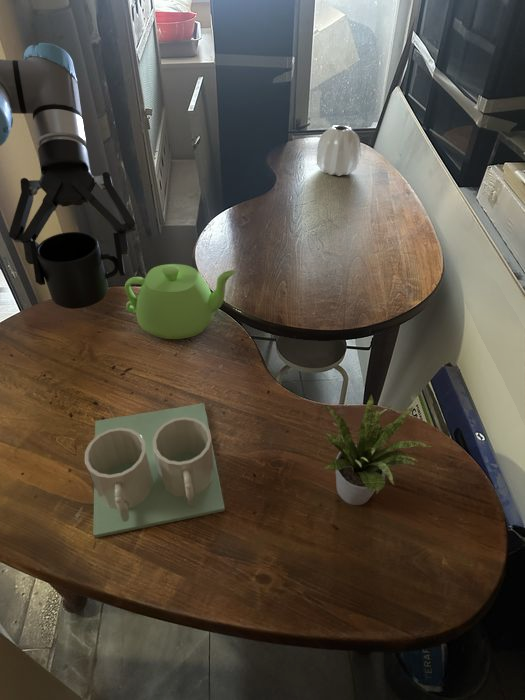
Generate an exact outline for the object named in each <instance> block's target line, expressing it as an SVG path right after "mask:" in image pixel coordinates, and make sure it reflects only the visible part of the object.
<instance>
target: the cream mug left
mask: <svg viewBox="0 0 525 700" xmlns="http://www.w3.org/2000/svg"><path fill="white" fill-rule="evenodd" d="M129 463H131V464H134V465H133V466H132V467H131V468H129V469H128V470H126V471H124V472H122V473H118V474H112V475H108V473H109V472H110V471H111V470H112V469H114V468H116V467H117V466H119V465H123V464H129ZM84 464H85V467H86V469H87V472H88V474H89V477H90V479H91V482H92V484H93V488H94V487H95V489H96V492H97V494H98V496H99V498H100V500H101V502H102V503H103V504H105V505H106V506H108V507H109V508H113V509H118V511H119V513H120V516H121V519H122V521H123V522H127V521H128V520H129V508H132V507H134V506H136V505H138V504H139V503H141V502H143V501H144V500H145V498H146V497H147V496H148V495H149V494H150V492H151V490H152V487H153V484H154V481H153V473H152V469H151V464H150V460H149V456H148V452H147V448H146V444H145V441H144V439H143V438H142V436H141V435H140V434H139V433H137V432H135V431H134V430H132V429H127V428H115V429H109V430H107V431H105V432H103V433H101V434H99V435H98V436H96V437H95V436H94V438H93V439H92V440H91V441H90V442H89V443H88V445H87V447H86V449H85V451H84Z"/></svg>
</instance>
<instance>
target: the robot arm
mask: <svg viewBox="0 0 525 700" xmlns="http://www.w3.org/2000/svg"><path fill="white" fill-rule="evenodd" d="M13 114H16V115H17V114H19V115H20V114H22V115H27V114H31V115H32V120H33V129H34V134H35V135H34V136H35V141H36V145H37V154H38V161H39V168H40V178H39V179H38V180H34V179H33V180H29V179H28V178H26V177H23V178H21V179H20V194H19V195H20V196H19V199H18V202H17V205H16V208H15V212H14V215H13V218H12V222H11V224H10V229H9V232H8V237H9V238H11V239H12V241H14V242H15V243H20V244H21V243H22V244H23V252H24V258H25V261H26V262H27V264H29V265H32V266H33V272H34V278H35V283H36V284H38V285H39V286H44V285H45V286H46V280H45V277H44V274H43V272H42V269H41V266H40V263H39V260H38V257H37V254H36V250H37V247H38V245H39V244H40V243H38V242H37V239H38V237H39V236H40V234H41V232H42V231H43V229H44V227H45V225H46V224H47V222H48V221H49V219H50V218H51V216H52V214H53V213H54V212H55V211H56V210H57V208H58V206H61V207H62V208H63V207H69V206H83V204H84V203H86V204H87V205H88V206H89V207H90V208H91V209H93V210H94V211H95V212H96V213H97V214H98V215H99V216H100V217H101V218H102V219H103V220H104V221H105V223H107V224H108V225H109V226H110V227H111V228H112V229H113V230H114V231H115V232H113V233H112V235H113V241H114V242H113V243H114V248H115V254H116V258H117V262H118V268H119V271H118V273H119V275H120V277H123V276H126V269H125V263H124V257H123V255H129V251H130V249H129V244H128V236H127V235H128V234H129V233H131V232H135V231H136V230H137V224H136V221H135V219H134V218H133V216H132V215H131V213H130V212H129V210H128V208H127V207H126V205H125V203H124V201H123V200H122V198H121V197H120V196H119V194H118V192H117V191H116V189H115V187H114V185H113V179H112V176H111V174H110V172H109V171H104V172H103V173H102V175H93V174H92V172H91V165H90V158H89V151H88V148H87V140H86V139H87V138H86V133H85V127H84V121H83V113H82V107H81V99H80V93H79V86H78V78H77V75H76V71H75V66H74V62H73V59H72V57H71V56H70V54H69V52H68V51H66V50H65V49H64V48H62V47H60V46H58V45H56V44H53V43H48V42H39V43H38V44H31V45H29V46H27V47H26V49H25V50H24V53H23V59H17V60H16V59H1V58H0V147H1V146H3V145H4V144H5V143H6V141H7V140H8V139H9V135H10V134H11V133H10V132H11V129H12V127H13V123H14V117H13ZM96 185H98V186H99V187H100V189H101V190H104V191H105V190H106V193H107V195H108V198H109V199H110V200H111V202H112V203H113V205H114V207H115V208H116V210H117V211H118V213H119V215H120V216H121V218H122V220H123V221H124V223H123V224H122V223H121V222H120V220H118V219H117V218H116V217H115V216H114V215H113V214H112V213H111V212H110V210H108V209H107V207H105V206H104V204H102V202H100V201H99V200H98V199H97V198H96V197H95V195H94V194H93V193H92V192H93V190H94V188H95V186H96ZM39 190H42V191H43V192H44V193H45V194H44V197H43V198H42V201H41V204H40V206H39V207H38V209H37V210H36V212H35V214H34V215H33V217H32V219H31V220H30V222H29V224H28V225H27V223H28V220H29V216H30V213H31V210H32V206H33V202H34V196H36V195H37V194H38V191H39ZM26 226H27V227H26Z"/></svg>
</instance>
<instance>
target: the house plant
mask: <svg viewBox="0 0 525 700" xmlns="http://www.w3.org/2000/svg"><path fill="white" fill-rule="evenodd" d="M378 404H379V403H378V402H377V404H376V408H375V409H374V398H373V394H372V393H371V394H370V395H369V398H368V400H367V402H366V405H365V409H364V413H363V417H362V421H361V423H360V426H359V431H358V435H357V442H356V443H357V444H355V442H354V440H353V436H352V434H351V431H350V429H349V427H348V425H347V422H346V421H345V419H344V418H343V417H342V416H341V415H340V414H338V413H337V412H336V411H335V410H334V409H333V408H332V407H330V406H327V405H325V407H326V409H327V411H329V413H330V416H331V417H332V418H333V420H334V421H335V424H336V426H337V427H338V435H335V434H332V433H326V436H327V440H328V441H329V442H330V444H332V445H333V446H334V447H335V448H336V449H337V450H338V451H339V453H338V454H337V456H336V457H335V458H336V459H333V460H331V461H330V462H329V463H328V464H327V465H326V466H325V467H324V468H323V469H324V470H326V469H327V470H331V471H335V483H336V486H335V487H336V493H337V495H338V496H339V497H340V498H341V499H342V501H344V502H345V503H346V504H348V505H352V506H362V505H364V504H366V503H367V502H368V501H369V500H370V499H371V497H372V496H373V495H374V494H375V492H376V494H378V493H379V492H380V491H381V490H383V488H384V487H385V485H386V477H387V479H389V481H390V483H391V484H392V485H393V486H395V481H394V477H393V474H392V472H391V469H390V468H389V467H391V466H403V465H412V466H419V464H418V463H415V462H419V460H418V459H416V458H415V457H411V456H408V455H407V453H405V452H404V451H401V450H398V449H405V448H413V447H423V448H433V446H432V445H430V444H427V443H425V442H421V441H417V440H399V441H395V442H392V443H390V444H388V445H387V446H385V447H383V446H384V445H385V444H386V443H387V442H388V441H389V440H390V439H391V438H392V437H393V435H394V434H395V433H396V432H397V431H398V430H399V429H400V428H401V426H402V425H403V423H404V422H405V421H406V420H407V418H408V416H409V415H410V414H411V413H412V411H413V409H414V406H412V407H411V408H409V409H407V410H405V411H404V412H402V413H401V414H399V416H398V417H396V419H395V420H393V421H392V422H390V423H388V424H386V425H385V426H380V425H381V415H382V414H383V413H385V412H387V410H389V409H390V408H391V407H392V405H390V406H388V407H386V408H385V409H383V410H380V408H379V405H378Z"/></svg>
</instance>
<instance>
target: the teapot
mask: <svg viewBox="0 0 525 700" xmlns="http://www.w3.org/2000/svg"><path fill="white" fill-rule="evenodd" d="M235 274H236V270H234V269H232V270H227V271H224V272H222V273H220V275H219V276H218V277H217V280H216V288H215V290H213V291H211V289H210V287H209V285H208V283H207V282H206V280H205V278H204V277H203V276H202V275H201V273H200V272H199V271H198V270H197V269H196V268H194V267H193V266H190V265H187V264H180V263H167V264H161V265H157V266H154V267H152V268H151V269H150V270H148V272H147V273H146V275H145V277H142V276H132V277H130V278H128V279H127V280H126V281H125V282H124V283H125V284H124V292H125V294H126V297H127V298H128V301H127V302H126V304H125V308H126V310H127V312H128V313H130V314H134V315H135V314H136V321H137V324H138V325H139V326H140V328H141V329H142V330H144V331H145V332H146V333H148V334H149V335H151V336H153V337H156V338H160V339H166V340H182V339H188V338H191V337H195V336H198V335H200V334H201V333H202V332H203V331H204V330H206V329H207V327H208V326H209V325H210V323H211V321H212V320H213V316H214V313H215V312H216V311H218V310H220V308H221V307H222V305H223V304H224V301H225V294H226V284H227V282H228V279H229V278H230V277H232V276H233V275H235ZM132 285H141V286H140V288H139V291H138V293H137V296H136V295H135V293H134V291H133V290H132V288H131V286H132Z"/></svg>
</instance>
